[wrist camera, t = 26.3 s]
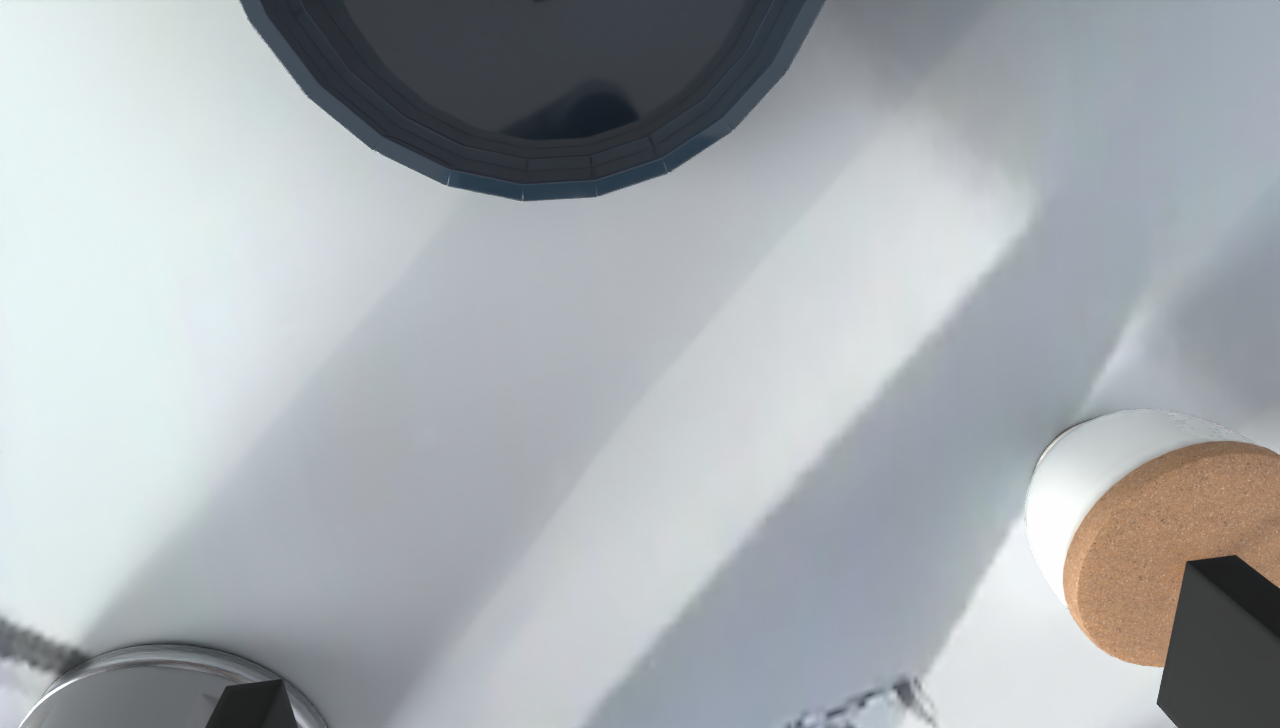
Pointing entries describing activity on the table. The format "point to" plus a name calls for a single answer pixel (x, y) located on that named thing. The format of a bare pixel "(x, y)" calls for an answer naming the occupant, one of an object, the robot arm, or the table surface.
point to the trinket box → (1147, 520)
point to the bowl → (536, 82)
